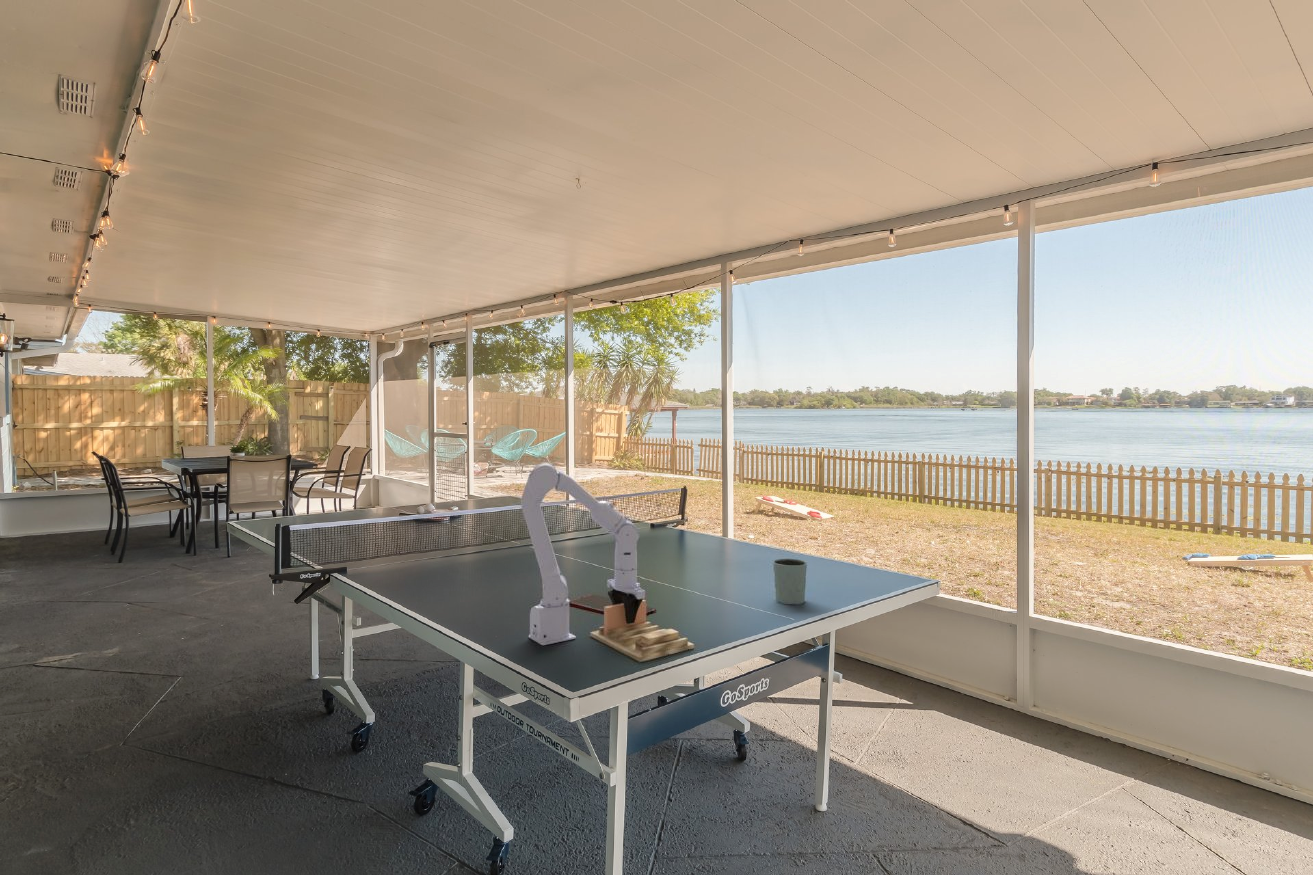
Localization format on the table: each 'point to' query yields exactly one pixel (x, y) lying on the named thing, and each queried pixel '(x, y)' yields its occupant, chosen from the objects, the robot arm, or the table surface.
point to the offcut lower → (641, 645)
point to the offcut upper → (659, 636)
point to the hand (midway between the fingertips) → (625, 620)
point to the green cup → (790, 580)
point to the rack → (630, 635)
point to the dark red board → (598, 603)
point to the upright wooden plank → (621, 616)
